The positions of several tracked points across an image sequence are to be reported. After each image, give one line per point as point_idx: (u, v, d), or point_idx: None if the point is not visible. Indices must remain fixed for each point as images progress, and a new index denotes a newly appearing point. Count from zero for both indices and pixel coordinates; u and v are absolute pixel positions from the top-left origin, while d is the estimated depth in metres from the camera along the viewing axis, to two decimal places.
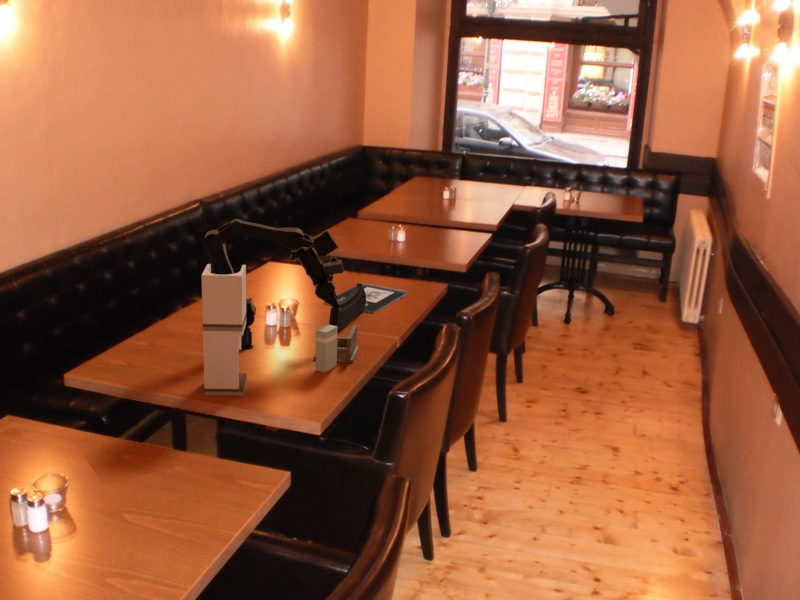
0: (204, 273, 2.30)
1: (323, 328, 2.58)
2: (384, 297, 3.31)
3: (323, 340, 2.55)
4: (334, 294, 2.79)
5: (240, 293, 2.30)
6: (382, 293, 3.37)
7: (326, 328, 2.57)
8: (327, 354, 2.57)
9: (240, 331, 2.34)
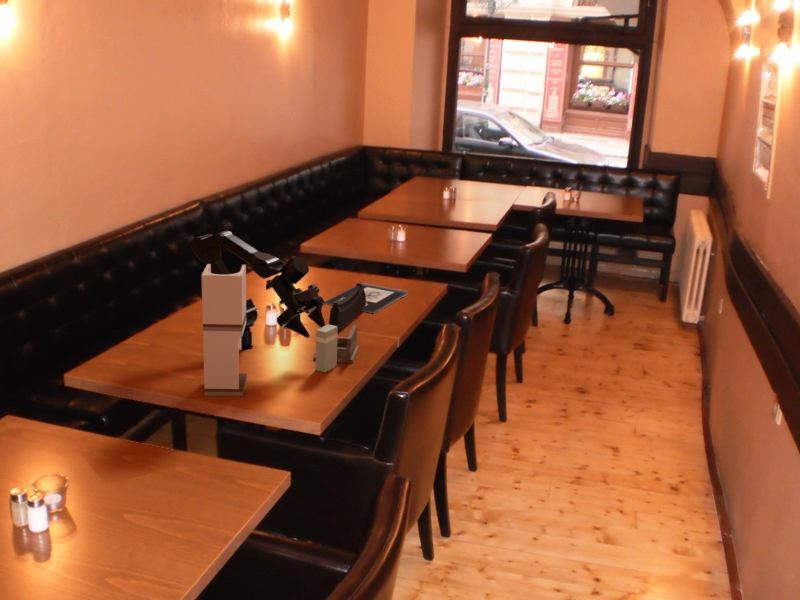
0: (204, 273, 2.30)
1: (323, 328, 2.58)
2: (384, 297, 3.31)
3: (323, 340, 2.55)
4: (322, 324, 2.64)
5: (240, 293, 2.30)
6: (382, 293, 3.37)
7: (326, 328, 2.57)
8: (327, 354, 2.57)
9: (240, 331, 2.34)
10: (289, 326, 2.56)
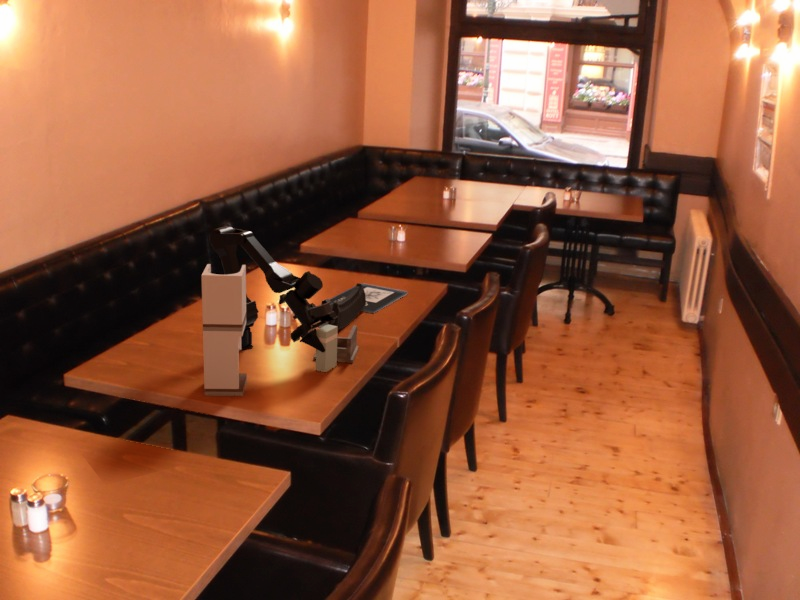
0: (204, 273, 2.30)
1: (323, 328, 2.58)
2: (384, 297, 3.31)
3: (323, 340, 2.55)
4: None
5: (240, 293, 2.30)
6: (382, 293, 3.37)
7: (326, 328, 2.57)
8: (327, 354, 2.57)
9: (240, 331, 2.34)
10: (305, 340, 2.56)
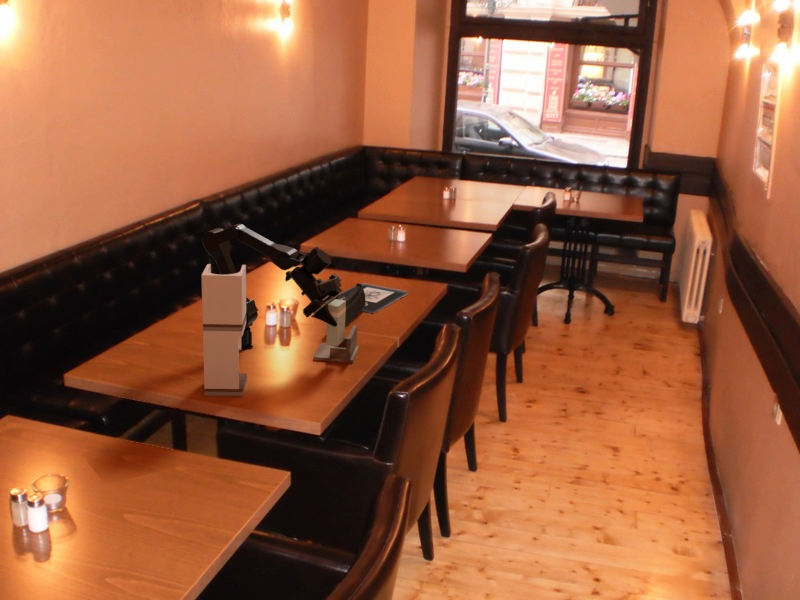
0: (204, 273, 2.30)
1: (333, 303, 2.61)
2: (384, 297, 3.31)
3: (335, 314, 2.59)
4: None
5: (240, 293, 2.30)
6: (383, 293, 3.37)
7: (336, 303, 2.61)
8: (338, 328, 2.61)
9: (240, 331, 2.34)
10: (316, 316, 2.58)
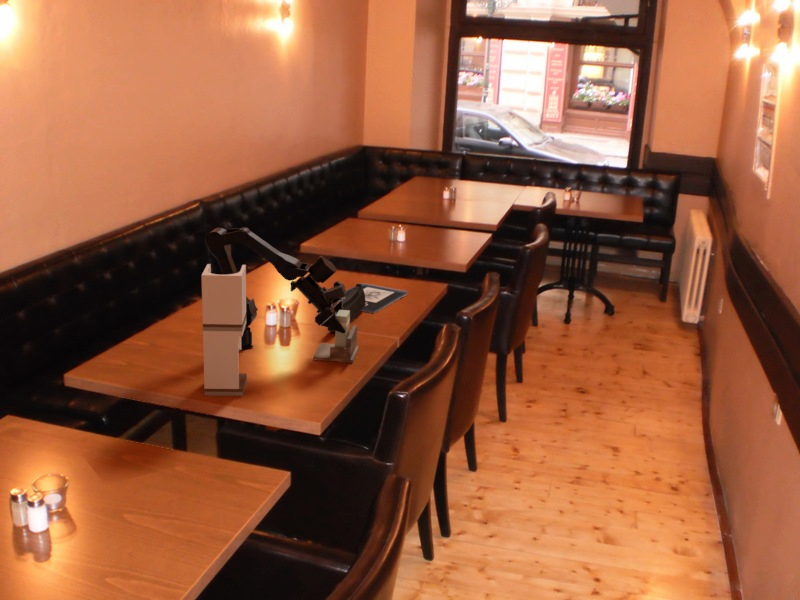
0: (204, 273, 2.30)
1: (340, 313, 2.69)
2: (384, 297, 3.31)
3: (344, 324, 2.67)
4: None
5: (240, 293, 2.30)
6: (383, 293, 3.37)
7: (343, 313, 2.69)
8: (346, 337, 2.69)
9: (240, 331, 2.34)
10: (326, 324, 2.64)
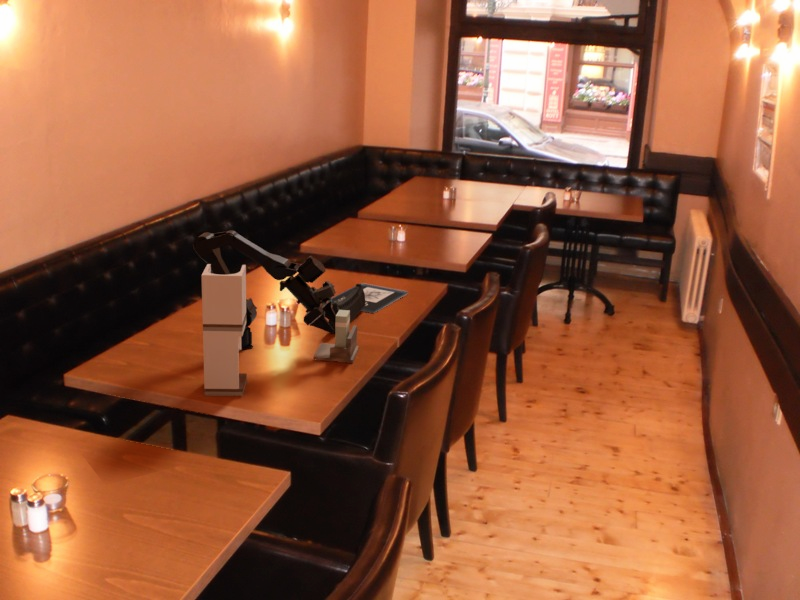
0: (204, 273, 2.30)
1: (340, 313, 2.69)
2: (384, 297, 3.31)
3: (344, 324, 2.67)
4: (335, 318, 2.75)
5: (240, 293, 2.30)
6: (383, 293, 3.37)
7: (343, 313, 2.69)
8: (346, 337, 2.69)
9: (240, 331, 2.34)
10: (314, 324, 2.64)
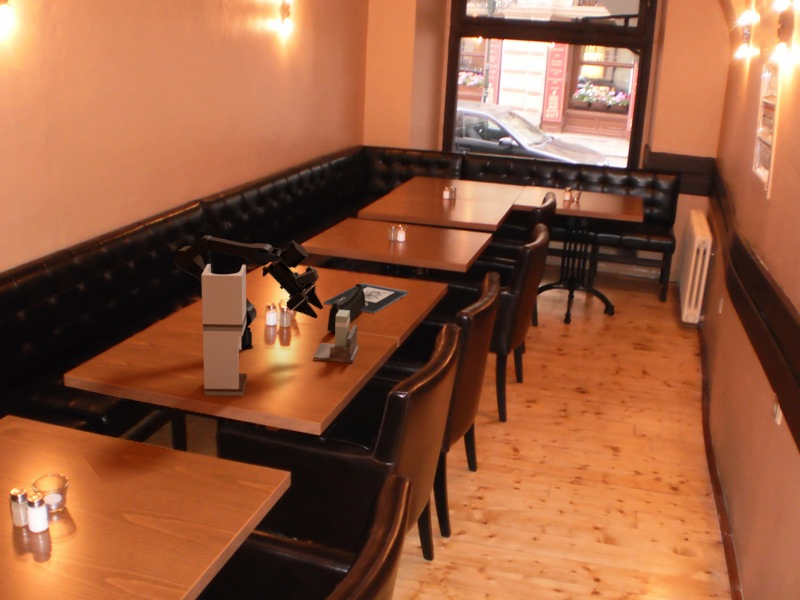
0: (204, 273, 2.30)
1: (340, 313, 2.69)
2: (384, 297, 3.31)
3: (344, 324, 2.67)
4: (319, 304, 2.74)
5: (240, 293, 2.30)
6: (383, 293, 3.37)
7: (343, 313, 2.69)
8: (346, 337, 2.69)
9: (240, 331, 2.34)
10: (297, 309, 2.63)
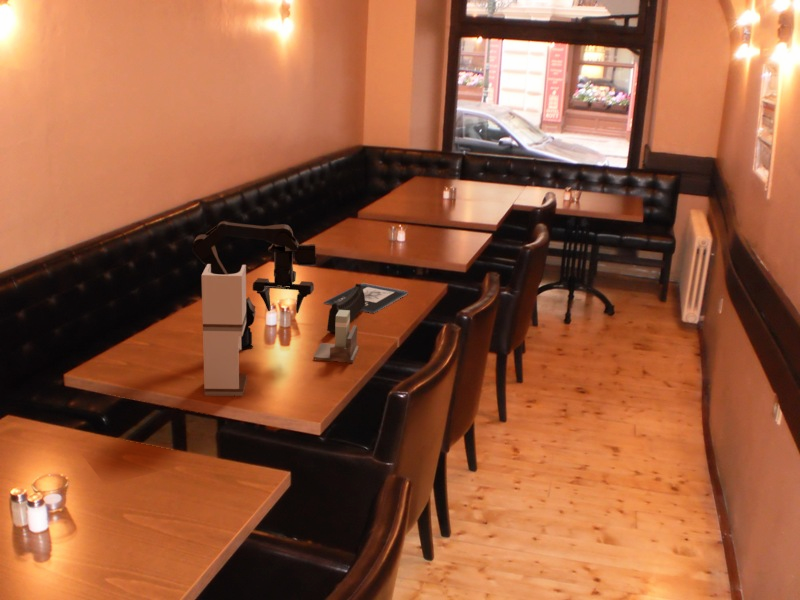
0: (204, 273, 2.30)
1: (340, 313, 2.69)
2: (384, 297, 3.31)
3: (344, 324, 2.67)
4: None
5: (240, 293, 2.30)
6: (383, 293, 3.37)
7: (343, 313, 2.69)
8: (346, 337, 2.69)
9: (240, 331, 2.34)
10: None
